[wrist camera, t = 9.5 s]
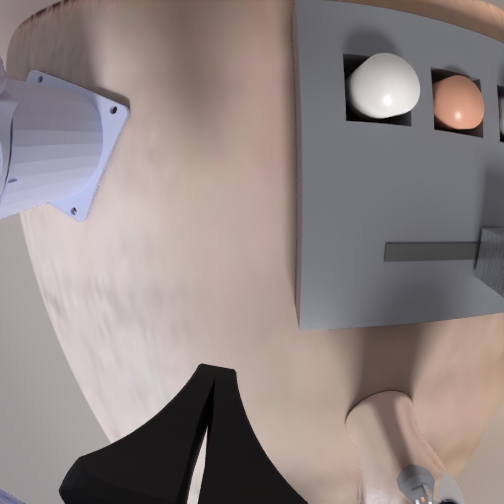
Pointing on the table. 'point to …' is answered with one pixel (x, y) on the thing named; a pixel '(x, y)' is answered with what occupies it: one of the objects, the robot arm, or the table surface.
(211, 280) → the table surface
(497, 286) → the slider knob
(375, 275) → the control panel
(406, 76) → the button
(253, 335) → the table surface
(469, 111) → the middle button
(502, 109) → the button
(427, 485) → the beer glass
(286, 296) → the table surface
